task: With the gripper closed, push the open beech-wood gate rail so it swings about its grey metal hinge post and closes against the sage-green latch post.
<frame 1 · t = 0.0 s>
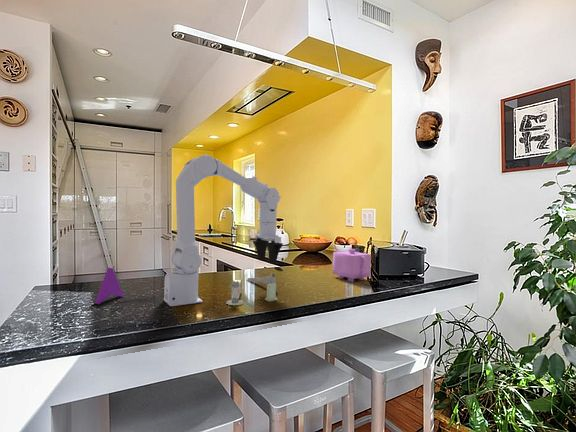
hand: (266, 261, 116), 10 cm above the countertop, tool pointing down, fingers open, 7 cm apart
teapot: (348, 278, 142), on the countertop
caliper: (260, 286, 124), on the countertop
arrowhead: (109, 300, 100), on the countertop
gate: (237, 288, 107), point 3 cm above the countertop, hinge at 60.0°
latch post: (271, 299, 105), on the countertop
hinge post: (234, 303, 100), on the countertop
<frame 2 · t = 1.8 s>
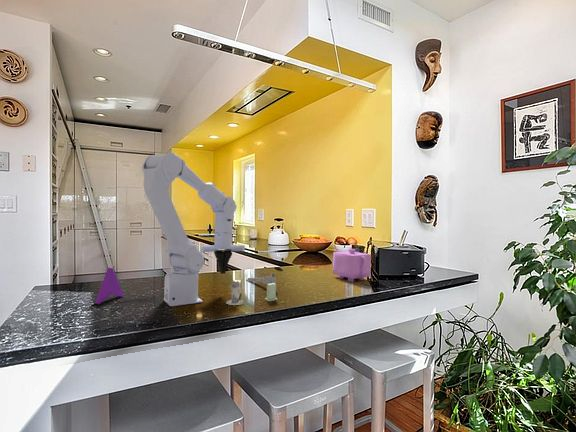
hand: (222, 273, 112), 6 cm above the countertop, tool pointing down, fingers closed
nothing on the countertop moved.
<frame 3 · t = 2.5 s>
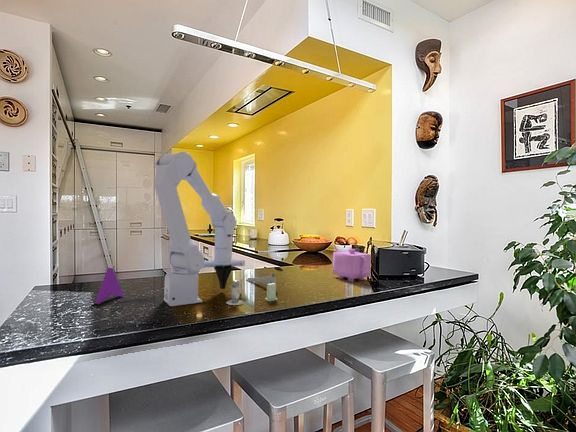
hand: (222, 288, 112), 1 cm above the countertop, tool pointing down, fingers closed
nothing on the countertop moved.
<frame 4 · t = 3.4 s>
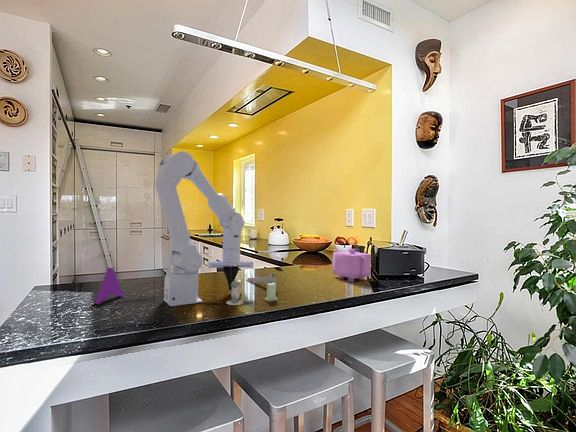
hand: (230, 289, 111), 1 cm above the countertop, tool pointing down, fingers closed
gate: (237, 288, 107), point 3 cm above the countertop, hinge at 60.0°, touching gripper
everything else where it was.
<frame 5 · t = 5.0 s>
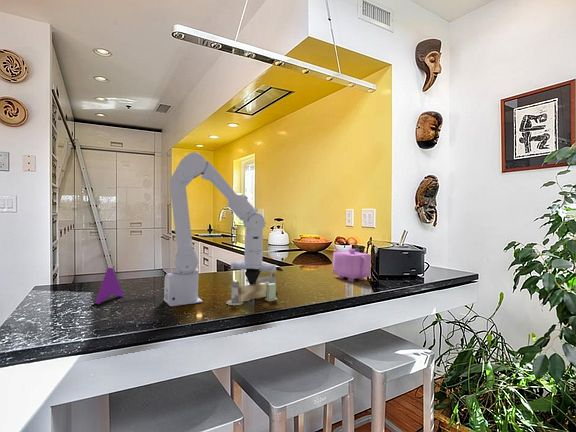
hand: (252, 292, 107), 1 cm above the countertop, tool pointing down, fingers closed, pressing on gate
gate: (254, 291, 104), point 3 cm above the countertop, hinge at 8.2°, touching gripper
everything else where it was.
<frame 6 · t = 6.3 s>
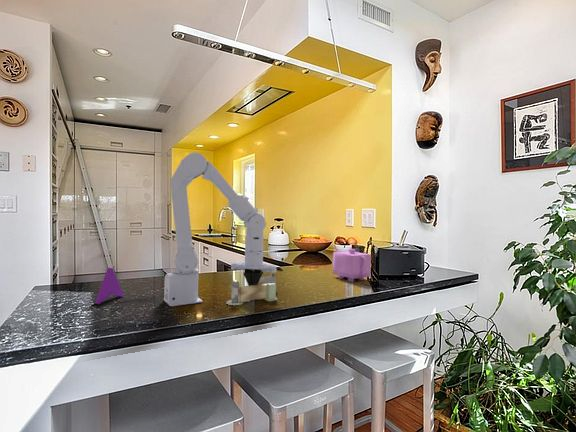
hand: (252, 293, 107), 1 cm above the countertop, tool pointing down, fingers closed
gate: (256, 291, 104), point 3 cm above the countertop, hinge at -0.5°, touching latch post
everything else where it was.
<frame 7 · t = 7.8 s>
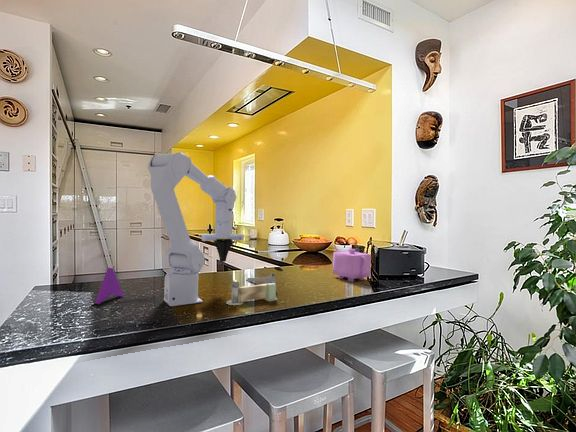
hand: (222, 261, 115), 10 cm above the countertop, tool pointing down, fingers closed
nothing on the countertop moved.
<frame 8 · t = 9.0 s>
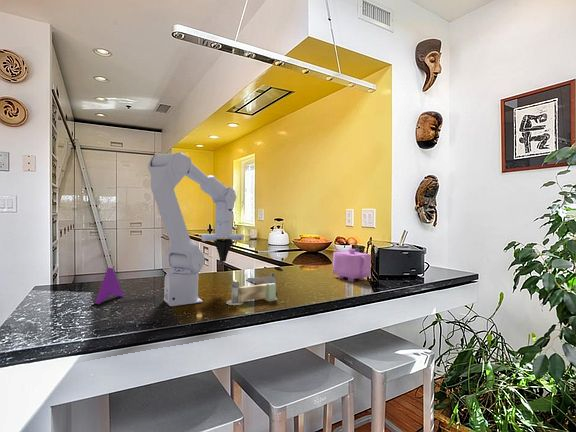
hand: (222, 261, 115), 10 cm above the countertop, tool pointing down, fingers closed
nothing on the countertop moved.
at the end: gate at +0° (first picture: +60°); gate touching latch post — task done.
